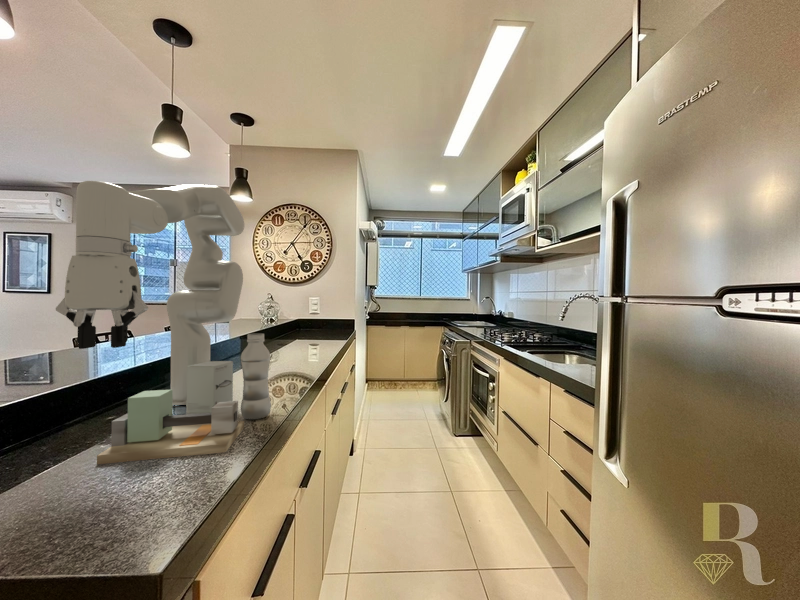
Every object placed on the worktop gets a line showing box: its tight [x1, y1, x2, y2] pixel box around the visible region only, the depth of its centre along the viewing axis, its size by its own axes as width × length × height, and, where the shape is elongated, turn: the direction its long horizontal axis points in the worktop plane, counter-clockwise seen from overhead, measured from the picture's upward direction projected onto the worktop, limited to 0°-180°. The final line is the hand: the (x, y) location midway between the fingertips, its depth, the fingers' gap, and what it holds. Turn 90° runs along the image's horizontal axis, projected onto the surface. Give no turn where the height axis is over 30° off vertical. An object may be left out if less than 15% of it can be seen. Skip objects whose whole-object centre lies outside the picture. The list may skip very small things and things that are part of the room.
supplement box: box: [185, 360, 234, 415], centre depth 79 cm, size 7×7×13 cm
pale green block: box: [127, 389, 173, 442], centre depth 60 cm, size 5×5×8 cm
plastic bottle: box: [240, 333, 272, 420], centre depth 75 cm, size 6×7×20 cm
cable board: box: [96, 400, 245, 465], centre depth 61 cm, size 12×20×7 cm, turn 102°
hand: (103, 346), depth 59 cm, fingers open, 4 cm apart
